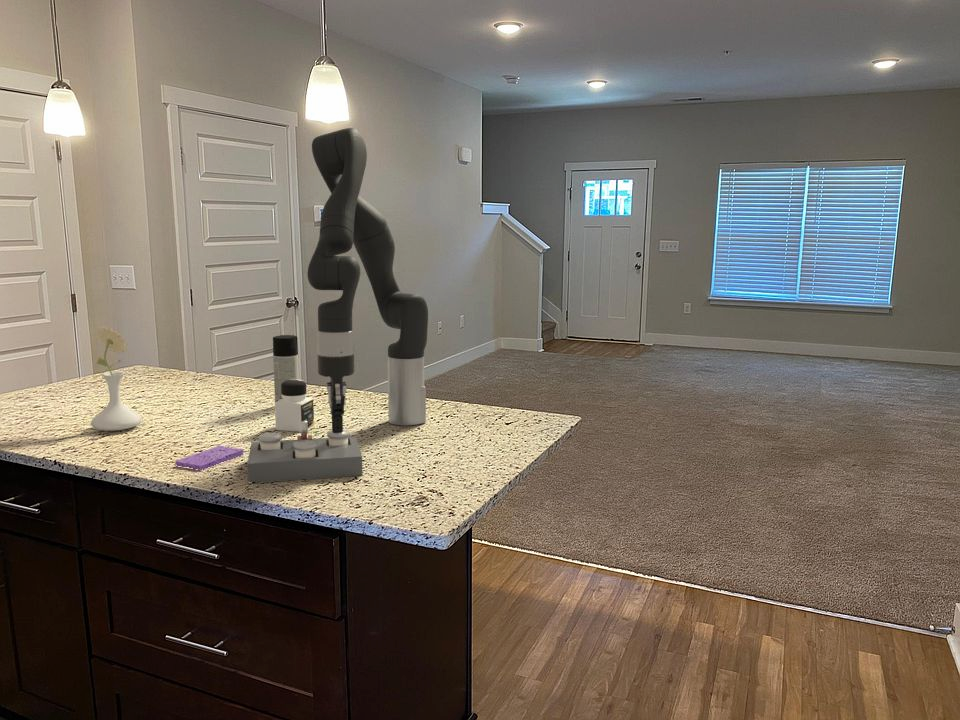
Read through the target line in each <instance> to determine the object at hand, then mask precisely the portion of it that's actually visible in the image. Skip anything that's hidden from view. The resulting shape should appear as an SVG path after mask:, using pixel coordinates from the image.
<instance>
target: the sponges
mask: <svg viewBox="0 0 960 720" xmlns="http://www.w3.org/2000/svg"><path fill="white" fill-rule="evenodd" d="M241 455H242V456H244V448H237V447H234V448H233V447H230V446H224V445H216V446H214V447H211V448H209V449H207V450H203V451H200V452H198V453H193V454H192V455H188V456H185V457H182V458H180V459H179V458H178V459H176V460H175V461H174V463H175V466H176V467H177V466H182V467H189V468H193V469H198V470H202V469H205V468H208V467H211V466H213V467H215V466H214V465H216V464H218V465H220V464H219V463H221V462H224V461H226V462H228V461H227V460H229V461H231V460H234V459H237V458H239V457H238V456H240V457H242V456H241ZM236 457H237V458H236ZM233 458H234V459H233ZM230 459H231V460H230ZM224 463H225V462H224ZM221 464H222V463H221ZM216 466H217V465H216ZM211 468H212V467H211ZM208 469H209V468H208ZM205 470H206V469H205Z"/></svg>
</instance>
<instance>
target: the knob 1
mask: <svg viewBox="0 0 960 720" xmlns="http://www.w3.org/2000/svg"><path fill="white" fill-rule="evenodd" d="M282 439H283V438H282V434H281V433H279V432H265V433H262V434H259V435H258V442H260V446H261V450H275V449H281V448H280V440H282Z"/></svg>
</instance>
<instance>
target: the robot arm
mask: <svg viewBox="0 0 960 720" xmlns="http://www.w3.org/2000/svg"><path fill="white" fill-rule="evenodd" d="M367 151H368V150H367V146H366V142H365V140H364V138H363V136H362V134H361V133H360V132H359V130H358V129H356V128H355V127H354V128H353V127H348V128H343V129H339V130H335V131H332V132H329V133H328V132H327V133H323V134H321V135H318V136H316V137H315V138H314V139H312V143H311V153H312V156H313V160H314V162H315V164H316V168H317V169H318V171H319V174H320V175H321V177H322V179H323V181H324V182H325V185H326V187H327V188H328V190H329V192H330V193H331V194H330V196H329V197H328V199H327V200H326V201H325V204H324V206H323V208H322V212H321V215H320V224H319V237H318V242H317V245H316V247H315V250H314V252H313V255H312V256H311V258H310V261H309V264H308V267H307V280H308V283H309V284H310V286H311V287H312V288H313V289H315V290H316V291H317V290H318V291H342V295H341V296H340V297H339V298H338V299H335V300H334V299H333V300H330V301H325V302H322V303H320V304H319V305H318V307H317V327H318V328H317V329H318V331H317V332H318V333H317V341H316V342H317V343H316V345H317V374H318V375H319V376H321V377H325V378H327V377H328V378H329V377H330V379H329V382H328V381H327V382H326V390H327V391H326V392H327V394H328V395H327V398H328V399H327V400H328V404H329V408H330V411H329V412H330V415H331V430H332V432H333V433H342V432H343V429H344V420H343V416H344V415H345V406H346V393H347V392H348V391H347V382H346V381H344V380H343V378H344V377H350V376H352V375H354V373H355V340H354V334H353V333H354V332H353V308H354V307H353V306H354V302H355V301H354V300H355V295H356V291H357V289H358V285H359V282H360V278H361V266H360V263H359V261H358V260H357V259H356V258H355V257H354V256H350V255H342V254H346V253H348V252H349V251H351V250H352V248H353V246H354V248H355V251H356V252H357V254H358V257H359V259H360V261H361V264H362V266H363V268H364V271H365V274H366V276H367V278H368V281H369V283H370V285H371V286H370V287H371V289H372V293H373V296H374V298H375V301H376V305H377V307H378V311H379V314H380V317H381V319H382V321H383V322H384V324H385V325H386V326H387V327H389V328H392V329H395V330H397V329H398V330H399V331H400V333H399V338H398V340H397V341H396V342H393V343H391V344H389V345H388V347H387V395H388V397H387V399H388V402H387V403H388V404H387V406H388V407H387V409H388V412H387V414H388V415H387V416H388V423H389V424H391V425H393V426H394V425H395V426H415V425H421V424H426V423H427V421H426V420H427V414H426V413H427V412H426V411H427V407H426V406H427V404H426V403H427V401H426V400H427V390H426V386H425V350H426V346H427V342H428V326H429V311H428V304H427V302H426V300H425V298H424V297H423V296H421V295H420V294H416V293H406V292H405V293H404V292H402V291H401V289H400V288H399V286H398V283H397V281H396V278H395V275H394V272H393V271H394V270H393V267H394V260H395V253H396V251H395V249H396V248H395V241H394V238H393V235H392V233H391V229H390V227H389V225H388V223H387V220H386V219H385V217H384V215H383V214H382V213H381V212H380V211H379V210H378V209H376V208H375V207H374V206H373V205H371V204H370V203H369V202H368V201H366V199H364V198H362V196H360V192H361V188H362V184H363V180H364V176H365V170H366V167H367V157H368V152H367ZM339 255H341V256H339Z"/></svg>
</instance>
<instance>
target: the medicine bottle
mask: <svg viewBox="0 0 960 720" xmlns="http://www.w3.org/2000/svg"><path fill="white" fill-rule="evenodd" d="M281 393H282V398H283V399H281V400H279V401H277V402H275V401H274V414H275V415H274V417H275V419H274V420H275V421H274V422H275V430H276V431H283V432H284V431H286V432H297V433H298V432H299V433H301V421H308V429H309V428H311V427H312V426H314V425H315V417H314V415H315V411H314V409H315V407H314V406H315V405H314V398H313V397H308V396H307V394H308V393H307V382H306V380H305V381H304V380H303V379H299V380H297V379H293V380H286V381H284V382H282V384H281Z"/></svg>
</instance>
